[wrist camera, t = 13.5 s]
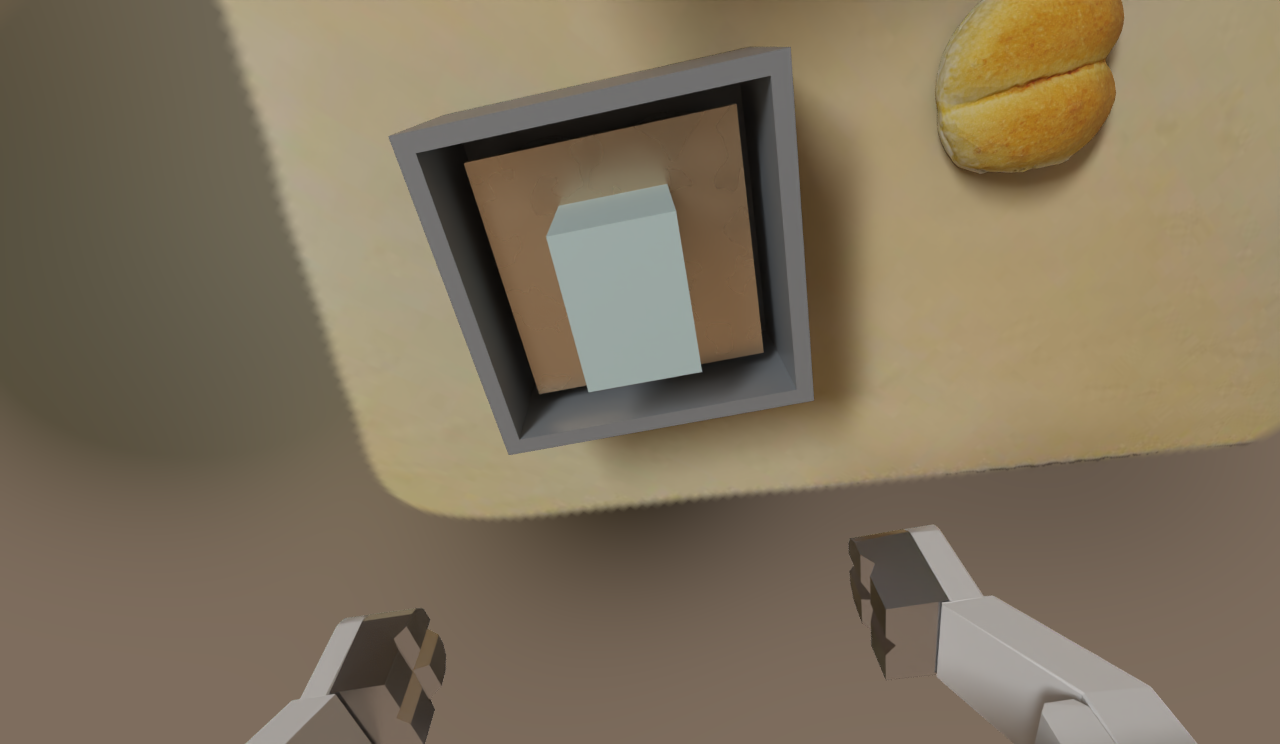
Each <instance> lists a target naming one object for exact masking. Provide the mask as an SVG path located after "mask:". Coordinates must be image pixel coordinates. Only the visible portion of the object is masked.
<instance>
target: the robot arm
mask: <svg viewBox="0 0 1280 744" xmlns="http://www.w3.org/2000/svg"><path fill="white" fill-rule="evenodd" d="M849 555H850V558H851V560H852V562H853V565H854V566H853V567H852V568H851V570H850V584H851V589H852V594H853V599H854V602H855V605H856V609H857V611H858V614H859V617H860V619H861V622H862V624H864V625H865V626H867V627H868V628H870V629H871V646H872V648H873V651H874V653H875V655H876V658H877V660H878V662H879V665H880V667H881V670H882V672H883V675H884V677H885V679H886V680H892V679H900V678H909V677H918V676H927V675H936V674H937V678H938V679H940V680H941V681H942V682H943V683H944V684H945V685H946V686H948V687H949V688H950V689H951V690H953V692H955V693H956V694H957V695H958V696H959V697H960V698H961V699H963V700H964V701H965V702H966V703H967V704H968V705H970V706H971V707H972V708H973V709H974V710H975V711H976V712H978V713H979V714H980V715H981V716H983V718H985V719H986V720H987V721H988V722H989V723H990V724H992V725H993V726H994V727H995V728H996V729H997V730H998V731H1000V732H1001V733H1002V734H1003V735H1004V736H1005V737H1007V738H1008V739H1009V740H1010V741H1011V742H1013V743H1014V744H1197V743H1196V741H1195V740H1194V739H1193V738H1192V737H1191V735H1190V734H1189V733H1188V732H1187V731H1186V729H1185V728H1184V727H1183V726H1182V724H1181V723H1180V722H1179V721H1178V719H1177V718H1176V717H1175V716H1174V715H1173V713H1172V712H1171V711H1170V710H1169V708H1168V707H1167V706H1166V705H1165V704H1164V703H1163V701H1162V700H1161V699H1160V697H1159V696H1158V695H1157V694H1156V693H1155V691H1154V690H1153V689H1152V688H1151V687H1150V686H1149V685H1147V684H1145V683H1143V682H1142V681H1140V680H1138V679H1136V678H1135V677H1133V676H1131V675H1130V674H1128V673H1126V672H1125V671H1123V670H1121V669H1119V668H1117V667H1116V666H1114V665H1113V664H1111V663H1109V662H1107V661H1106V660H1104V659H1102V658H1100V657H1099V656H1097V655H1095V654H1094V653H1092V652H1090V651H1088V650H1087V649H1085V648H1083V647H1081V646H1080V645H1078V644H1076V643H1074V642H1073V641H1071V640H1069V639H1068V638H1066V637H1064V636H1063V635H1061V634H1059V633H1057V632H1056V631H1054V630H1052V629H1051V628H1049V627H1047V626H1045V625H1043V624H1042V623H1040V622H1039V621H1037V620H1035V619H1033V618H1032V617H1030V616H1028V615H1026V614H1025V613H1023V612H1021V611H1020V610H1018V609H1016V608H1014V607H1013V606H1011V605H1009V604H1007V603H1006V602H1004V601H1002V600H1001V599H999V598H997V597H995V596H994V595H992V596H984V595H983V594H982V592H981V591H980V589H979V588H978V586H977V585H976V583H975V582H974V580H973V579H972V577H971V576H970V574H969V572H968V571H967V569H966V568H965V567H964V565H963V564H962V562H961V560H960V559H959V557H958V556H957V554H956V553H955V551H954V550H953V548H952V547H951V545H950V544H949V542H948V541H947V539H946V538H945V536H944V535H943V533H942V532H941V530H940V529H939V528H938V527H937V526H935V525H934V524H933V525H926V526H921V527H914V528H909V529H905V530H903V529H902V530H895V531H890V532H884V533H878V534H872V535H866V536H861V537H855V538H850V540H849ZM429 622H430V618H429V617H428V615H427V614H426V612H425V610H424V609H422V608H415V609H408V610H400V611H393V612H384V613H377V614H370V615H365V616H358V617H351V618H345V619H343V620H342V621H341V622H340V623H339V624H338V625H337V626H336V628H335V630H334V632H333V634H332V636H331V638H330V640H329V642H328V644H327V646H326V648H325V650H324V652H323V654H322V656H321V658H320V660H319V662H318V664H317V666H316V668H315V670H314V672H313V674H312V676H311V678H310V680H309V682H308V684H307V686H306V688H305V690H304V692H303V694H302V696H301V698H300V699H298V700H292V701H291V702H290V703H289V704H288V705H287V706H286V707H285V708H284V709H282V711H280V712H279V713H278V714H277V715H276V716H275V717H274V718H273V719H272V720H271V721H269V722H268V723H267V724H266V725H265V726H264V727H263V728H262V729H261V730H260V731H259V732H258V733H257V734H255V735H254V737H252V738H251V739H250V740H249V741H248V742H247V743H246V744H425V742H426V738H427V735H428V731H429V728H430V724H431V721H432V718H433V714H434V711H435V709H434V706H433V704H432V702H431V698H432V696H433V695H434V694H435V693H436V692H437V691H438V690H439V688H440V687H441V686H442V682H443V678H444V675H445V669H446V653H445V649H444V645H443V642H442V640H441V638H440V637H439V635H438V634H436V633H434V632H433V631H431V630H429V629H427V628H428V625H429Z"/></svg>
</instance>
